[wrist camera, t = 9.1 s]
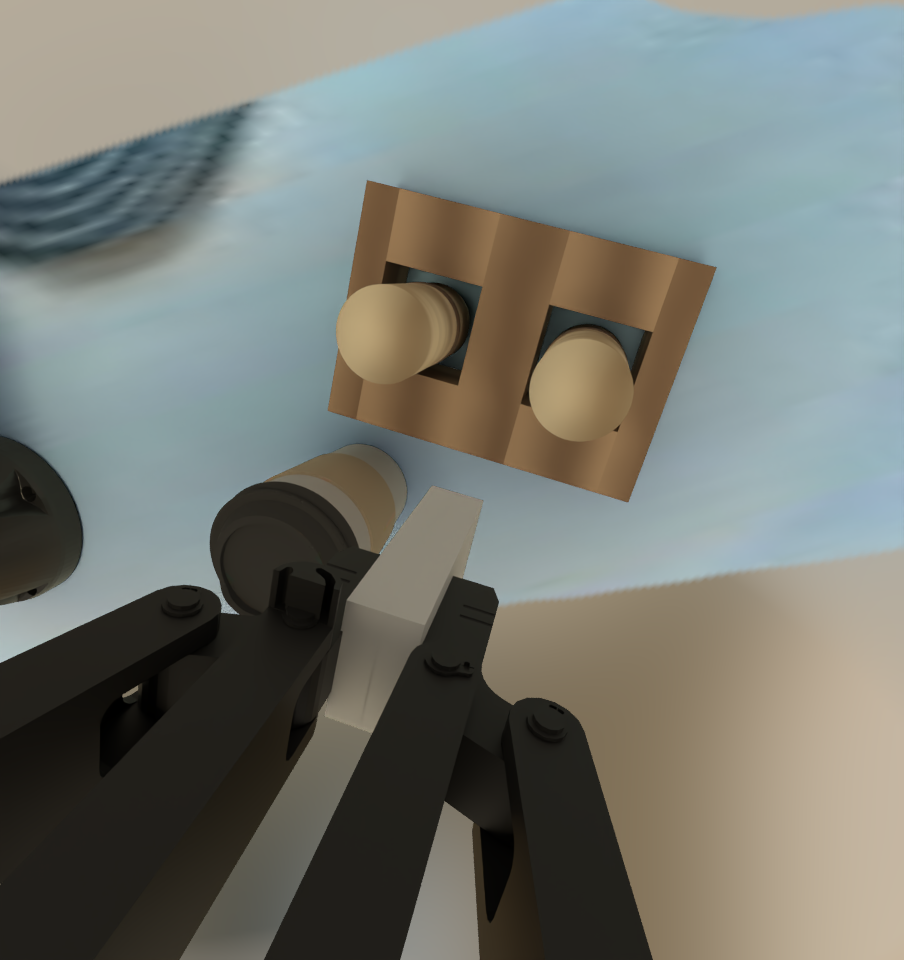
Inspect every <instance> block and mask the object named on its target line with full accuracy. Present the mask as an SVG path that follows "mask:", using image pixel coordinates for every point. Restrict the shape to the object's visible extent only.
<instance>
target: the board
mask: <svg viewBox="0 0 904 960" xmlns="http://www.w3.org/2000/svg"><path fill="white" fill-rule="evenodd" d="M409 267H411V268H415V269H418V270H422V271H426V272H430V273H433V274H437V275H441V276H445V277H448V278H452V279H456V280H460V281H463V282H467V283H471V284H475V285H478V286H482V291H481V295H480V299H479V303H478V307H477V311H476V315H475V319H474V323H473V327H472V331H471V335H470V339H469V343H468V347H467V351H466V355H465V360H464V364H463V368H462V371H461V370H458V369H454V368H451V367H447V366H444V365H441V364H435V365H433V366H430V367H428V368H426V369H424V370H422V371H420V372H418V373H416V374H415V375H413V376H411V377H409V378H407V379H405V380H403V381H401V382H398V383H394V384H377V383H372V382H370V381H367V380H365V379H363V378H361V377H360V376H358V375H357V374H356V373H355V372H353V371H352V370H351V369H350V367H349V366H348V365H347V364H346V362H345V361H344V359H343V357H342V355H341V353H340V350H339V348H338V354H337V360H336V365H335V371H334V377H333V383H332V389H331V395H330V401H329V406H328V411H330V412H333V413H336V414H340V415H343V416H346V417H350V418H353V419H356V420H359V421H363V422H366V423H369V424H372V425H376V426H379V427H382V428H386V429H389V430H392V431H395V432H399V433H402V434H405V435H409V436H412V437H415V438H418V439H422V440H425V441H428V442H432V443H435V444H438V445H441V446H445V447H448V448H451V449H454V450H458V451H461V452H464V453H468V454H471V455H474V456H477V457H481V458H484V459H487V460H491V461H494V462H497V463H500V464H504V465H507V466H510V467H514V468H517V469H520V470H523V471H527V472H530V473H533V474H536V475H540V476H543V477H546V478H550V479H553V480H556V481H559V482H563V483H566V484H569V485H573V486H576V487H579V488H582V489H586V490H589V491H592V492H596V493H599V494H602V495H605V496H609V497H612V498H615V499H618V500H622V501H625V502H629V499H630V496H631V494H632V491H633V488H634V486H635V483H636V480H637V478H638V475H639V472H640V470H641V467H642V464H643V462H644V459H645V456H646V454H647V451H648V448H649V446H650V443H651V440H652V438H653V435H654V433H655V430H656V427H657V425H658V422H659V419H660V417H661V414H662V411H663V409H664V406H665V403H666V401H667V398H668V395H669V393H670V390H671V387H672V385H673V382H674V379H675V377H676V374H677V371H678V369H679V366H680V363H681V361H682V358H683V356H684V353H685V350H686V348H687V345H688V342H689V340H690V337H691V334H692V332H693V329H694V326H695V324H696V321H697V318H698V316H699V313H700V310H701V308H702V305H703V302H704V300H705V297H706V294H707V292H708V289H709V287H710V284H711V281H712V279H713V276H714V273H715V271H716V268H717V267H713V266H709V265H705V264H701V263H697V262H693V261H689V260H685V259H681V258H677V257H673V256H669V255H665V254H661V253H657V252H653V251H649V250H645V249H641V248H637V247H633V246H629V245H625V244H621V243H617V242H612V241H608V240H604V239H600V238H596V237H592V236H588V235H584V234H580V233H576V232H572V231H568V230H564V229H560V228H556V227H552V226H548V225H544V224H540V223H536V222H532V221H528V220H524V219H520V218H516V217H512V216H508V215H504V214H500V213H496V212H492V211H488V210H484V209H480V208H476V207H472V206H468V205H464V204H460V203H456V202H452V201H448V200H444V199H440V198H436V197H432V196H428V195H424V194H420V193H416V192H412V191H408V190H404V189H400V188H396V187H392V186H388V185H384V184H380V183H376V182H372V181H368V180H367V184H366V190H365V195H364V201H363V207H362V213H361V219H360V225H359V231H358V236H357V242H356V248H355V254H354V260H353V266H352V272H351V277H350V283H349V289H348V295H347V299H348V298H349V297H350V296H351V295H352V294H354V293H355V292H356V291H358V290H360V289H361V288H364V287H366V286H370V285H376V284H400V283H406V280H407V275H408V271H409ZM553 306H557V307H561V308H564V309H568V310H572V311H576V312H579V313H583V314H587V315H591V316H594V317H598V318H602V319H606V320H609V321H613V322H617V323H621V324H624V325H628V326H632V327H636V328H639V329H643V330H645V332H644V335H643V337H642V340H641V343H640V346H639V349H638V352H637V355H636V357H635V360H634V363H633V366H632V369H631V375H632V379H633V385H634V394H633V400H632V404H631V407H630V409H629V412H628V414H627V415H626V417H625V419H624V420H623V421H622V422H621V424H620V425H619V426H618V427H617V428H616V429H614V430H613V431H612V432H610V433H609V434H607V435H605V436H603V437H601V438H598V439H595V440H591V441H583V442H577V441H569V440H565V439H562V438H560V437H558V436H556V435H554V434H552V433H551V432H549V431H548V430H547V429H546V428H544V427H543V426H542V424H541V423H540V422H539V421H538V419H537V418H536V416H535V414H534V412H533V410H532V407H531V403H530V398H529V387H530V381H531V377H532V374H533V372H534V370H535V368H536V365H537V361H538V358H539V355H540V351H541V348H542V344H543V341H544V337H545V334H546V331H547V327H548V324H549V320H550V317H551V313H552V310H553Z"/></svg>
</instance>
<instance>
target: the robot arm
mask: <svg viewBox="0 0 904 960" xmlns="http://www.w3.org/2000/svg"><path fill="white" fill-rule="evenodd" d="M482 504H483V500H480V499H476V498H473V497H469V496H466V495H463V494H459V493H456V492H452V491H449V490H446V489H442V488H439V487H435V486H432V487H431V488H430V489H429V491H428V492H427V493H426V495H425V496H424V497H423V499H422V500H421V501H420V503H419V504H418V505H417V507H416V508H415V509H414V511H413V512H412V513H411V515H410V516H409V517H408V519H407V520H406V521H405V523H404V524H403V525H402V527H401V528H400V529H399V531H398V532H397V533H396V535H395V536H394V537H393V539H392V540H391V541H390V543H389V544H388V545H387V547H386V548H385V549H384V551H383V552H382V553H381V555H380V554H377V553H374V552H370V551H367V550H364V549H361V548H358V547H354V546H352V547H349V548H347V549H344V550H342V551H339V552H337V553H336V554H335V555H334V556H333V557H332V558H331V559H330V560H329V561H328V563H327V565H325V566H324V565H322V564H318V563H313V562H308V561H294V562H290V563H285V564H282V565H280V566H278V567H277V568H275V569H273V576H272V583H271V591H270V598H269V605H268V607H267V608H266V609H265V611H264V612H263V613H262V614H261V615H257V616H251V615H237V614H228V613H221V607H222V605H221V602H220V599H219V597H218V596H217V595H215V594H214V593H213V592H212V591H210V590H207V589H204V588H202V587H198V586H191V585H179V586H170V587H166V588H163V589H160V590H157V591H155V592H153V593H150V594H148V595H146V596H144V597H142V598H140V599H137V600H135V601H133V602H131V603H129V604H127V605H125V606H122V607H120V608H118V609H116V610H114V611H112V612H109V613H107V614H105V615H103V616H101V617H99V618H96V619H94V620H92V621H90V622H88V623H86V624H84V625H81V626H79V627H77V628H75V629H73V630H71V631H68V632H66V633H64V634H62V635H60V636H58V637H55V638H53V639H51V640H49V641H47V642H45V643H42V644H40V645H38V646H36V647H34V648H32V649H30V650H27V651H25V652H23V653H21V654H19V655H17V656H14V657H12V658H10V659H8V660H6V661H4V662H1V663H0V960H179V959H180V958H181V956H182V954H183V953H184V951H185V949H186V948H187V946H188V944H189V943H190V941H191V939H192V938H193V936H194V934H195V933H196V930H197V929H198V927H199V926H200V924H201V922H202V921H203V919H204V917H205V916H206V914H207V912H208V911H209V909H210V907H211V906H212V904H213V902H214V901H215V899H216V897H217V896H218V894H219V892H220V891H221V889H222V887H223V885H224V884H225V882H226V880H227V879H228V877H229V875H230V874H231V872H232V870H233V869H234V867H235V865H236V864H237V862H238V860H239V859H240V857H241V855H242V854H243V852H244V850H245V849H246V847H247V845H248V844H249V842H250V840H251V839H252V837H253V835H254V834H255V832H256V830H257V828H258V827H259V825H260V823H261V822H262V820H263V818H264V817H265V815H266V813H267V811H268V810H269V808H270V806H271V805H272V803H273V802H274V800H275V798H276V797H277V795H278V793H279V791H280V790H281V788H282V787H283V785H284V783H285V782H286V780H287V778H288V776H289V775H290V773H291V771H292V770H293V768H294V766H295V765H296V763H297V761H298V759H299V758H300V756H301V755H302V753H303V751H304V750H305V748H306V746H307V745H308V743H309V741H310V740H311V738H312V736H313V734H314V730H315V727H316V722H317V717H318V712H319V711H320V709H321V707H322V706H323V704H324V702H325V701H326V699H327V698H328V699H327V705H326V710H325V715H324V716H325V717H327V718H330V719H333V720H336V721H339V722H342V723H345V724H347V725H350V726H353V727H356V728H359V729H362V730H364V731H368V732H370V733H372V735H371V737H370V739H369V741H368V743H367V745H366V747H365V749H364V752H363V754H362V756H361V758H360V760H359V762H358V764H357V766H356V768H355V770H354V772H353V775H352V777H351V779H350V781H349V783H348V785H347V787H346V789H345V791H344V793H343V796H342V798H341V800H340V802H339V804H338V806H337V808H336V810H335V812H334V815H333V816H332V819H331V821H330V823H329V825H328V827H327V829H326V831H325V833H324V835H323V837H322V840H321V842H320V844H319V846H318V848H317V850H316V852H315V854H314V856H313V858H312V861H311V863H310V865H309V867H308V869H307V871H306V873H305V875H304V877H303V879H302V881H301V884H300V885H299V888H298V890H297V892H296V894H295V896H294V898H293V900H292V902H291V904H290V906H289V908H288V911H287V913H286V915H285V917H284V919H283V921H282V923H281V925H280V927H279V930H278V931H277V934H276V936H275V938H274V940H273V942H272V944H271V946H270V948H269V950H268V953H267V954H266V957H265V959H264V960H400V958H401V955H402V951H403V948H404V944H405V940H406V937H407V933H408V930H409V926H410V923H411V919H412V915H413V912H414V908H415V905H416V901H417V897H418V894H419V890H420V887H421V883H422V879H423V876H424V872H425V868H426V865H427V861H428V857H429V854H430V851H431V847H432V844H433V840H434V836H435V832H436V829H437V826H438V822H439V818H440V815H441V811H442V807H443V804H444V801H445V802H447V803H448V804H450V805H451V806H452V807H454V808H455V809H456V810H458V811H459V812H461V813H462V814H463V815H465V816H466V817H468V818H469V819H470V820H472V821H473V822H474V824H473V829H472V836H473V853H474V867H475V868H474V869H475V886H476V903H477V920H478V937H479V953H480V960H653V959H652V955H651V952H650V949H649V946H648V942H647V939H646V936H645V932H644V929H643V925H642V922H641V919H640V915H639V912H638V909H637V905H636V902H635V899H634V895H633V892H632V889H631V886H630V882H629V879H628V875H627V872H626V869H625V865H624V862H623V859H622V855H621V852H620V849H619V845H618V842H617V839H616V836H615V832H614V829H613V825H612V822H611V819H610V816H609V812H608V809H607V805H606V802H605V799H604V795H603V792H602V789H601V785H600V782H599V779H598V775H597V772H596V769H595V765H594V762H593V759H592V755H591V752H590V749H589V745H588V742H587V739H586V735H585V732H584V730H583V728H582V726H581V724H580V722H579V720H578V719H577V718H575V716H574V715H573V714H571V713H570V712H569V711H568V710H567V709H565V708H564V707H562V706H560V705H558V704H557V703H555V702H552V701H549V700H545V699H542V698H526V699H523V700H520V701H517V702H516V703H515V704H514V705H511V704H510V703H508V702H506V701H505V700H503V699H502V698H501V697H499V696H498V695H496V694H495V693H494V692H493V691H492V690H491V689H490V688H489V687H488V685H487V684H486V682H485V680H484V679H483V675H482V672H481V668H482V662H483V658H484V655H485V651H486V647H487V643H488V640H489V636H490V633H491V629H492V626H493V622H494V618H495V615H496V611H497V607H498V604H499V601H498V598H497V596H496V593H495V591H494V588H491V587H488V586H484V585H481V584H478V583H475V582H472V581H468V580H465V579H463V575H464V571H465V567H466V564H467V560H468V556H469V552H470V549H471V545H472V541H473V537H474V534H475V530H476V526H477V522H478V519H479V515H480V511H481V508H482ZM81 546H82V534H81V526H80V521H79V517H78V513H77V510H76V507H75V505H74V503H73V500H72V498H71V496H70V494H69V492H68V491H67V489H66V487H65V486H64V484H63V482H62V481H61V480H60V478H59V477H58V476H57V474H56V473H55V472H54V471H53V470H52V468H51V467H50V466H49V465H48V464H47V463H46V462H45V461H44V460H42V459H41V458H40V457H39V456H38V455H37V454H35V453H34V452H33V451H31V450H30V449H28V448H27V447H25V446H23V445H21V444H19V443H17V442H15V441H13V440H10V439H8V438H5V437H1V436H0V605H5V604H10V603H14V602H19V601H24V600H28V599H32V598H34V597H37V596H39V595H41V594H43V593H45V592H47V591H49V590H50V589H52V588H54V587H56V586H57V585H59V584H61V583H62V582H64V581H65V580H66V579H67V578H68V577H69V576H70V575H71V574H72V572H73V571H74V569H75V567H76V565H77V563H78V560H79V557H80V553H81ZM137 685H138V691H136V692H135V693H133V694H132V695H130V696H127V697H124V698H123V697H122V695H123V694H124V693H126V692H127V691H129V690H131V689H132V688H134V687H136V686H137Z"/></svg>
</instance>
